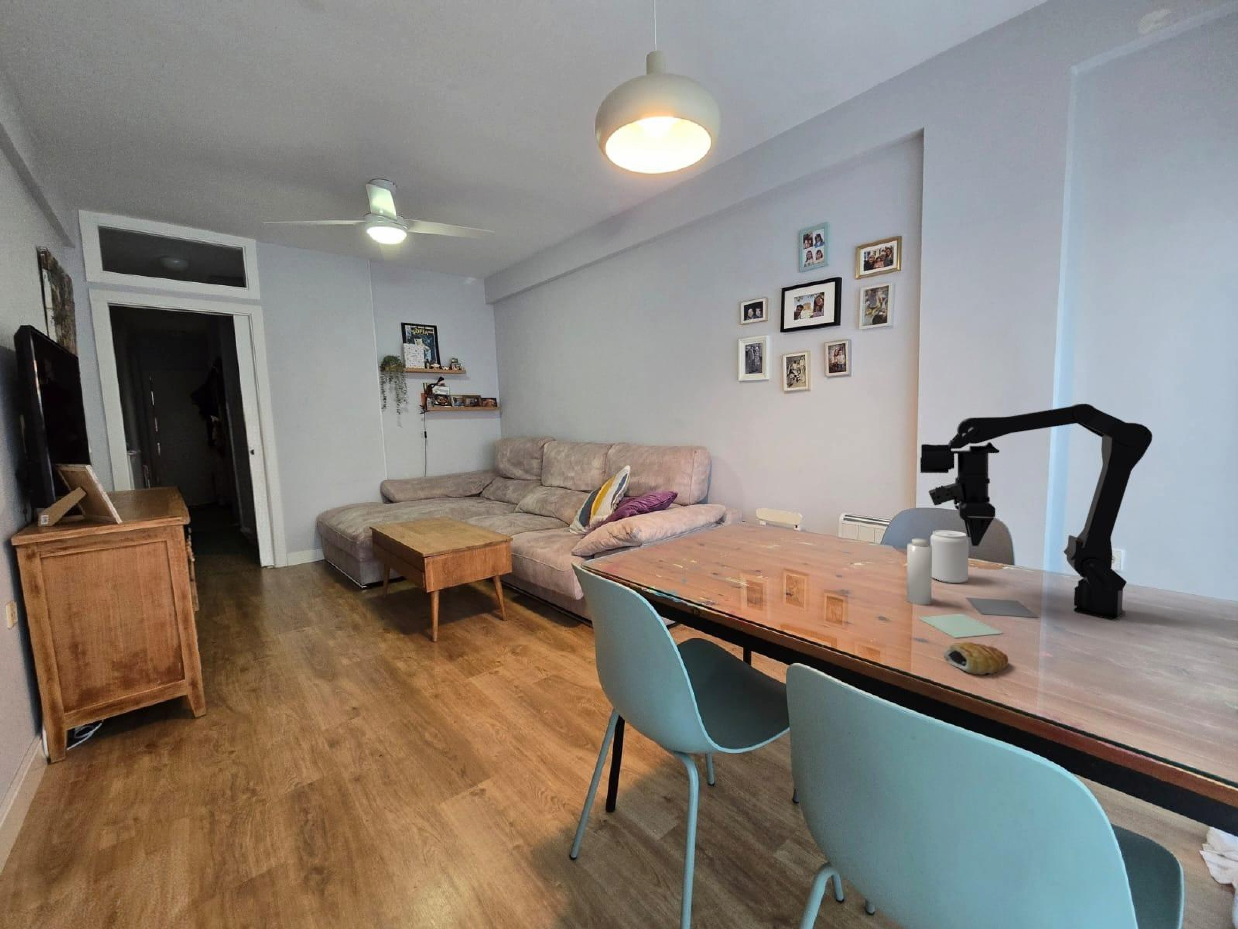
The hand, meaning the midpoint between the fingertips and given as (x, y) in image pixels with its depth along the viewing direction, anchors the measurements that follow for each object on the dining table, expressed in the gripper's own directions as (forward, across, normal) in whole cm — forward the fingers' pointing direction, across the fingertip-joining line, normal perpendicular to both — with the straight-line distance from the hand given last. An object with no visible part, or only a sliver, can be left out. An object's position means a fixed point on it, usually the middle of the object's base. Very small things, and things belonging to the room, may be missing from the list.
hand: (972, 541), depth 116 cm
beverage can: (+13, -13, -4) cm, 19 cm away
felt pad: (+13, +5, +4) cm, 15 cm away
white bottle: (+13, +7, -11) cm, 18 cm away
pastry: (+14, +37, -3) cm, 40 cm away
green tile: (+13, +20, -4) cm, 24 cm away
